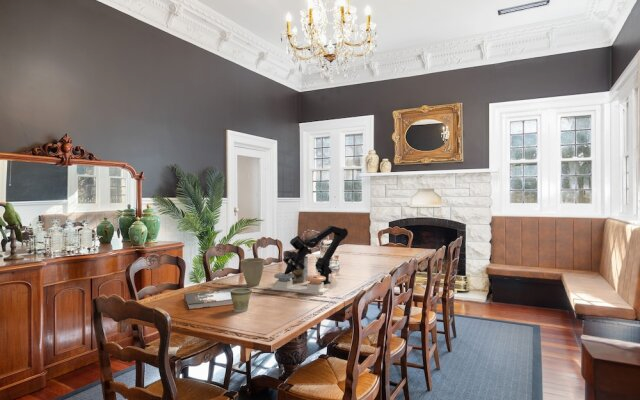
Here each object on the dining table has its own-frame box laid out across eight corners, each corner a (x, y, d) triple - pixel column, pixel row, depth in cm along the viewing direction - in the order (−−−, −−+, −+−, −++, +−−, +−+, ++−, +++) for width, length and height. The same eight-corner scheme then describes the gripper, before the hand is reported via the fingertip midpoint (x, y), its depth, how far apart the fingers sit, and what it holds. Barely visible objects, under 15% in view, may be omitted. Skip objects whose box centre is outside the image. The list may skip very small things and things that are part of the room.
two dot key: (270, 285, 243) (270, 275, 243) (280, 281, 254) (280, 271, 254) (288, 287, 238) (288, 276, 238) (297, 283, 249) (297, 273, 249)
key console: (270, 289, 245) (270, 280, 245) (278, 286, 253) (278, 278, 253) (322, 294, 231) (322, 285, 231) (328, 291, 240) (328, 282, 239)
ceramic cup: (241, 314, 194) (241, 293, 194) (226, 311, 199) (225, 290, 199) (259, 307, 205) (259, 288, 205) (244, 305, 210) (244, 285, 210)
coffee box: (291, 281, 267) (291, 256, 267) (295, 279, 273) (295, 255, 273) (304, 282, 264) (303, 257, 263) (308, 280, 270) (307, 256, 269)
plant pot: (267, 282, 264) (267, 257, 263) (261, 287, 249) (261, 261, 249) (244, 282, 265) (244, 257, 265) (237, 287, 250) (237, 261, 250)
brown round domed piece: (301, 289, 235) (301, 278, 235) (310, 284, 246) (310, 274, 246) (320, 290, 230) (320, 279, 230) (328, 286, 241) (328, 275, 241)
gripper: (285, 244, 257) (269, 263, 251) (300, 247, 241) (284, 268, 235) (296, 256, 261) (280, 275, 255) (311, 259, 246) (295, 280, 240)
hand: (285, 274), depth 246 cm, fingers closed, pressing on two dot key
